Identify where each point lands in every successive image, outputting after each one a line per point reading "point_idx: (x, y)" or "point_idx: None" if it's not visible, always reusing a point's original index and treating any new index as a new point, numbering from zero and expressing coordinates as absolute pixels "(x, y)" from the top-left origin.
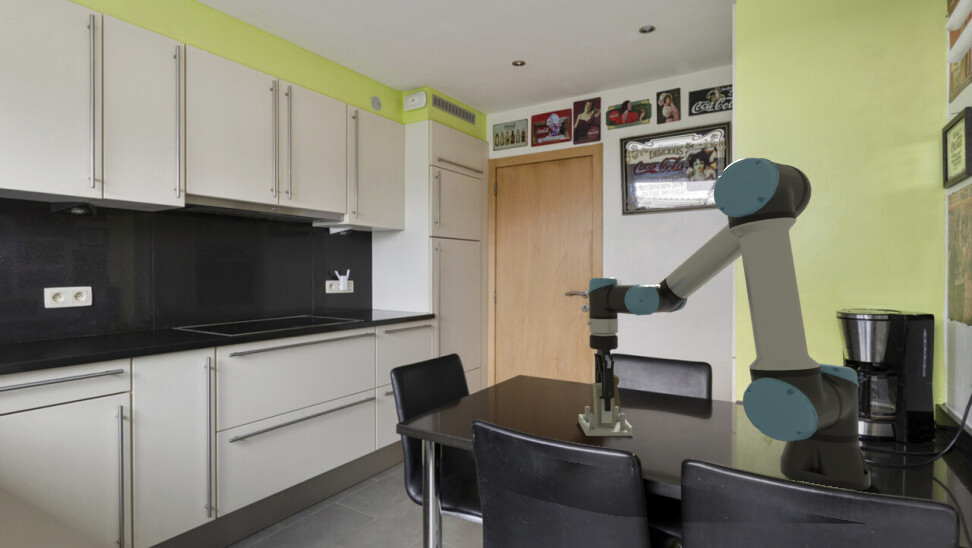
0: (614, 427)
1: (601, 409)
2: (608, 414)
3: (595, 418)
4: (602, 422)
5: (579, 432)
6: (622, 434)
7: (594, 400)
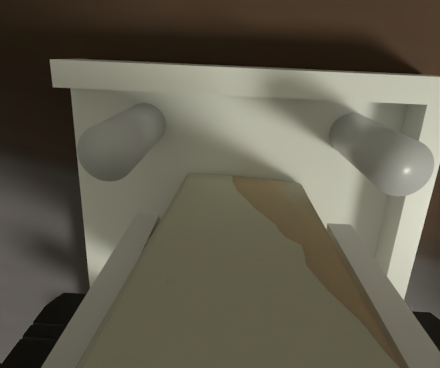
0: None
1: (127, 274)
2: None
3: (245, 190)
4: (135, 217)
5: (160, 22)
6: None
7: (256, 276)
